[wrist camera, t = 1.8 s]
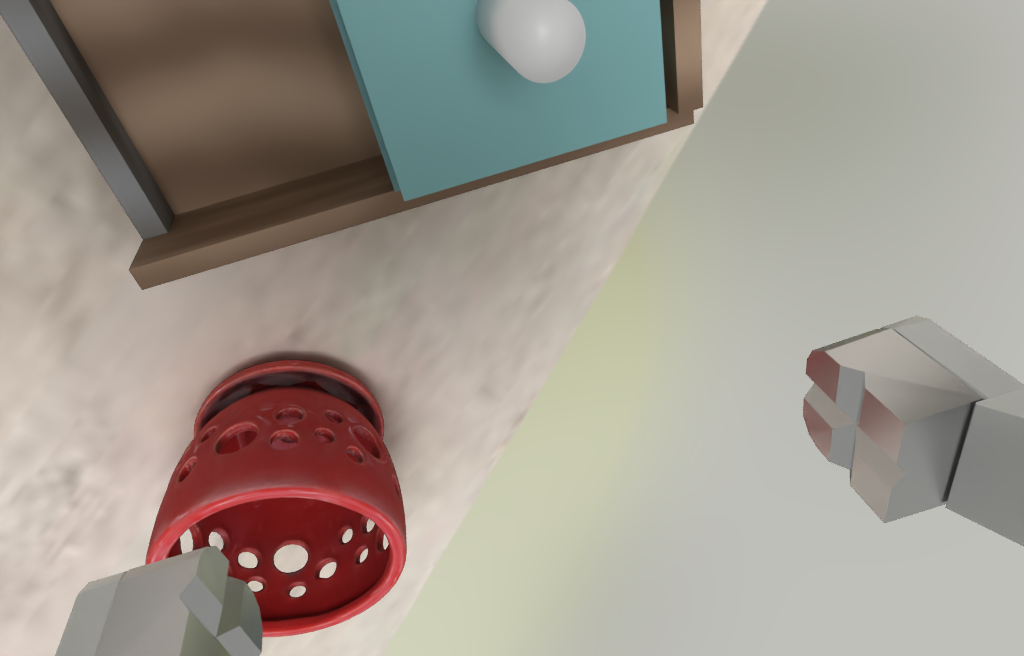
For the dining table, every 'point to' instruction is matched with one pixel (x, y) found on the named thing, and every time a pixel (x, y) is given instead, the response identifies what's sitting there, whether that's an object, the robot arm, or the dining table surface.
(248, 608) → the robot arm
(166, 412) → the dining table surface
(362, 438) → the plant pot
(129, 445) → the dining table surface
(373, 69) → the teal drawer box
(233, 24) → the bay
